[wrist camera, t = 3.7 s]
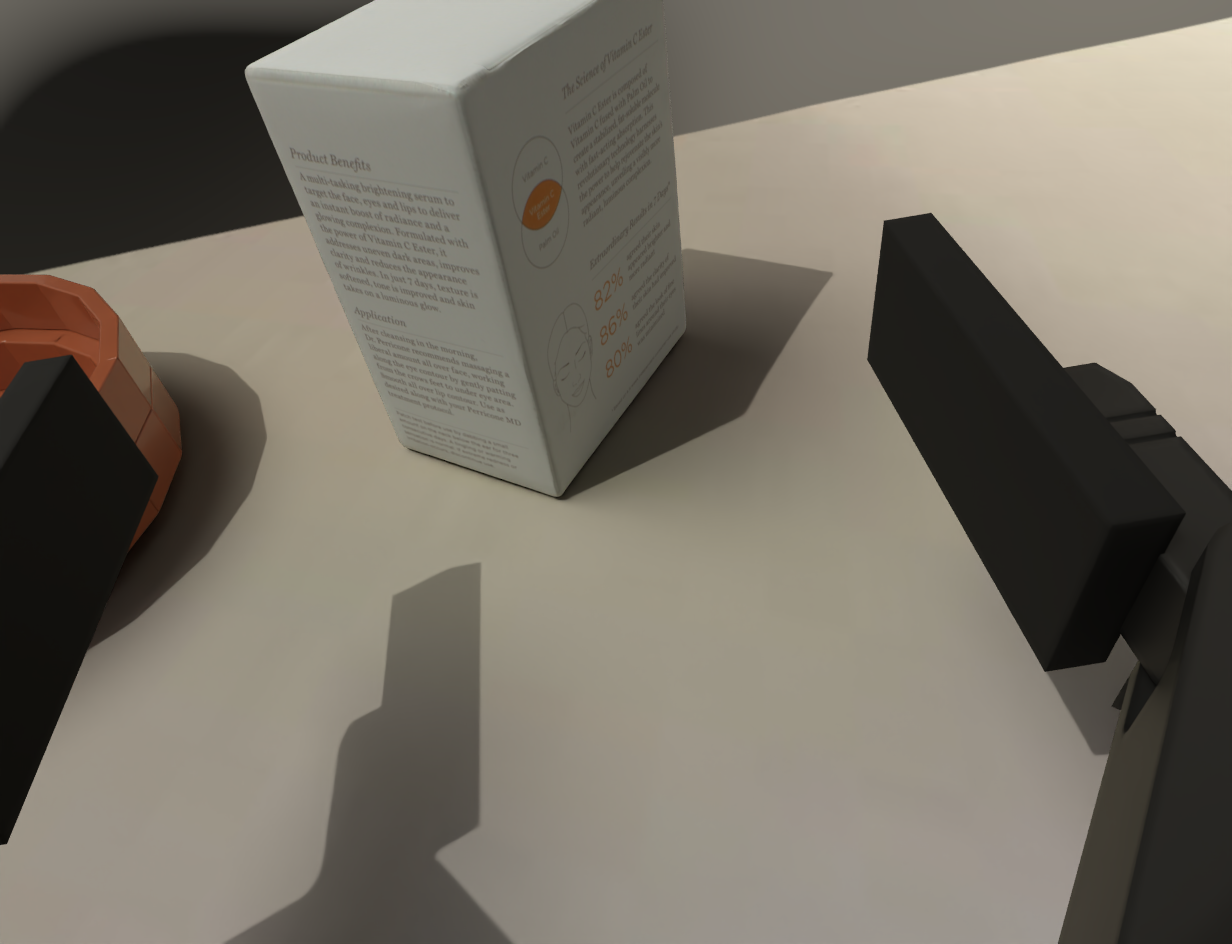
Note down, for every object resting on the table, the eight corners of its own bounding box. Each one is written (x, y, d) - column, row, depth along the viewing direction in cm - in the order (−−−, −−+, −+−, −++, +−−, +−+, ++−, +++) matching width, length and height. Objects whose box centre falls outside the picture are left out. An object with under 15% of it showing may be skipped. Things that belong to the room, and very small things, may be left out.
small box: (544, 301, 28) (468, -54, 21) (692, 333, 26) (666, -54, 18) (394, 451, 23) (229, 62, 16) (559, 507, 21) (453, 82, 14)
